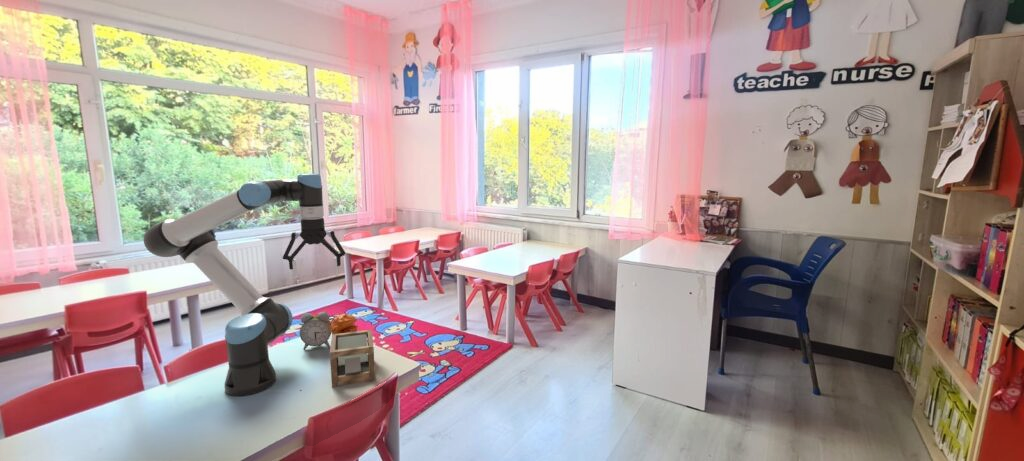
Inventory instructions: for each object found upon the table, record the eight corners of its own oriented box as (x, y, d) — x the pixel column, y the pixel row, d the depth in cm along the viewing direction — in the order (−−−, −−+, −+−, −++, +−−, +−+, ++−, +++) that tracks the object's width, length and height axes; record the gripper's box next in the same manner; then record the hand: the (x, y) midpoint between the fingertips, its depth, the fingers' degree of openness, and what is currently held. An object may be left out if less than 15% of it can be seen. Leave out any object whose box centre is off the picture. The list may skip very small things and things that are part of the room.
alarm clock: (300, 351, 171) (297, 316, 169) (304, 344, 178) (301, 310, 175) (331, 348, 174) (329, 313, 172) (334, 342, 181) (331, 308, 178)
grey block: (345, 365, 153) (344, 359, 149) (360, 362, 155) (360, 356, 150) (346, 378, 151) (345, 373, 146) (361, 376, 152) (360, 370, 148)
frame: (331, 387, 145) (329, 352, 143) (334, 365, 160) (331, 334, 158) (375, 380, 150) (373, 346, 148) (373, 360, 165) (371, 329, 163)
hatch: (337, 366, 153) (337, 365, 152) (337, 337, 157) (337, 337, 157) (368, 361, 156) (368, 360, 155) (367, 334, 161) (367, 333, 160)
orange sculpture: (354, 363, 162) (351, 318, 159) (325, 362, 162) (322, 317, 159) (364, 350, 173) (362, 307, 170) (338, 349, 173) (335, 307, 170)
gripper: (270, 220, 143) (275, 282, 146) (350, 217, 151) (353, 276, 154) (274, 217, 149) (279, 276, 153) (350, 215, 158) (353, 271, 161)
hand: (316, 276), depth 154 cm, fingers open, 13 cm apart
